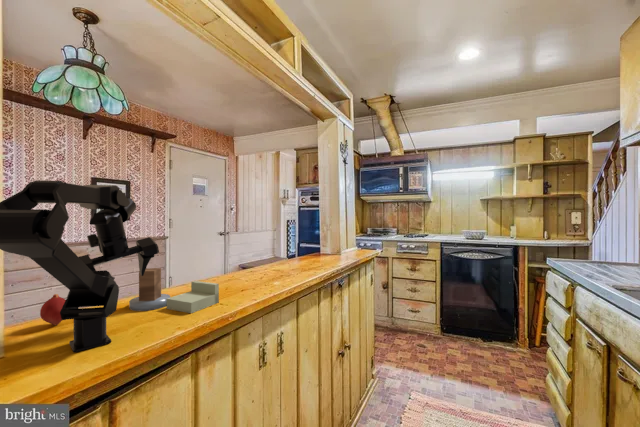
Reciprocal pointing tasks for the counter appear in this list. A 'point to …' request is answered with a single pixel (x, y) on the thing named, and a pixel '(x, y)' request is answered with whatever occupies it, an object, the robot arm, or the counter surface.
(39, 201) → the robot arm
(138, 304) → the disc
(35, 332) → the counter surface
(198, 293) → the ledge
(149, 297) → the walnut block
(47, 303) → the onion
